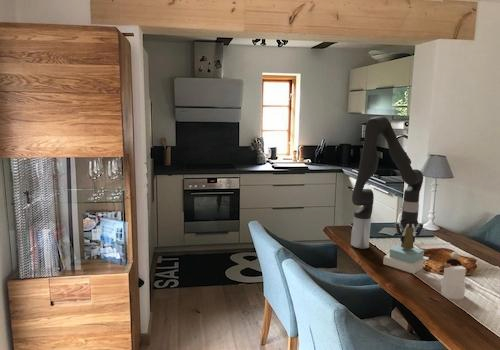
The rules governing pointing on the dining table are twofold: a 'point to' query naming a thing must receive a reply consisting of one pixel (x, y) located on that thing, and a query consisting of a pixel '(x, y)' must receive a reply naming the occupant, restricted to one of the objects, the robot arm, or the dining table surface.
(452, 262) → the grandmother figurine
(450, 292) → the white upright block
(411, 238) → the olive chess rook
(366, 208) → the robot arm
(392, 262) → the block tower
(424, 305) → the dining table surface
